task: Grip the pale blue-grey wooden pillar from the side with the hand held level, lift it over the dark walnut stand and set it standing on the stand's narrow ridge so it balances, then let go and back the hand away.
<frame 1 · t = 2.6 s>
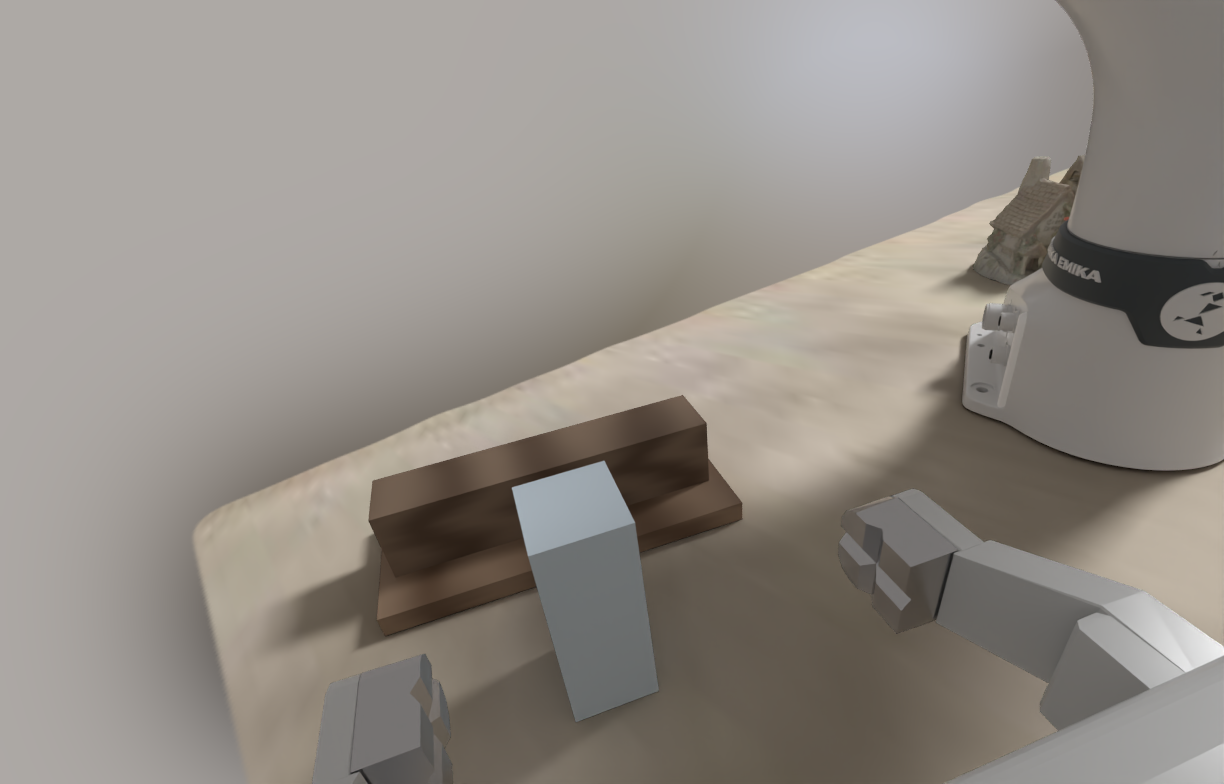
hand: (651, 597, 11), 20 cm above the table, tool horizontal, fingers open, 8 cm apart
pillar: (605, 668, 31), on the table
stand: (558, 523, 41), on the table
ceramic cottage: (1062, 277, 65), on the table
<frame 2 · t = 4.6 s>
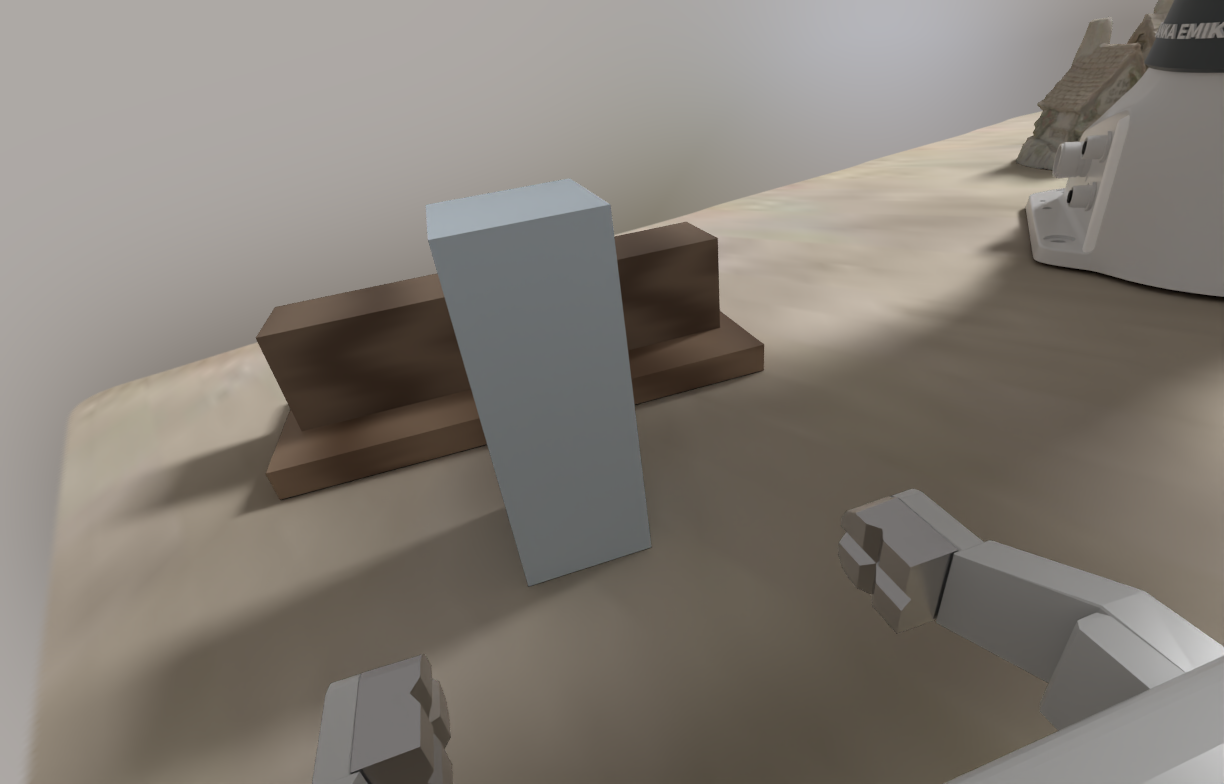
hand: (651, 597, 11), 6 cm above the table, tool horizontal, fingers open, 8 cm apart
pillar: (576, 524, 22), on the table
stand: (525, 383, 32), on the table
ceramic cottage: (1124, 164, 56), on the table
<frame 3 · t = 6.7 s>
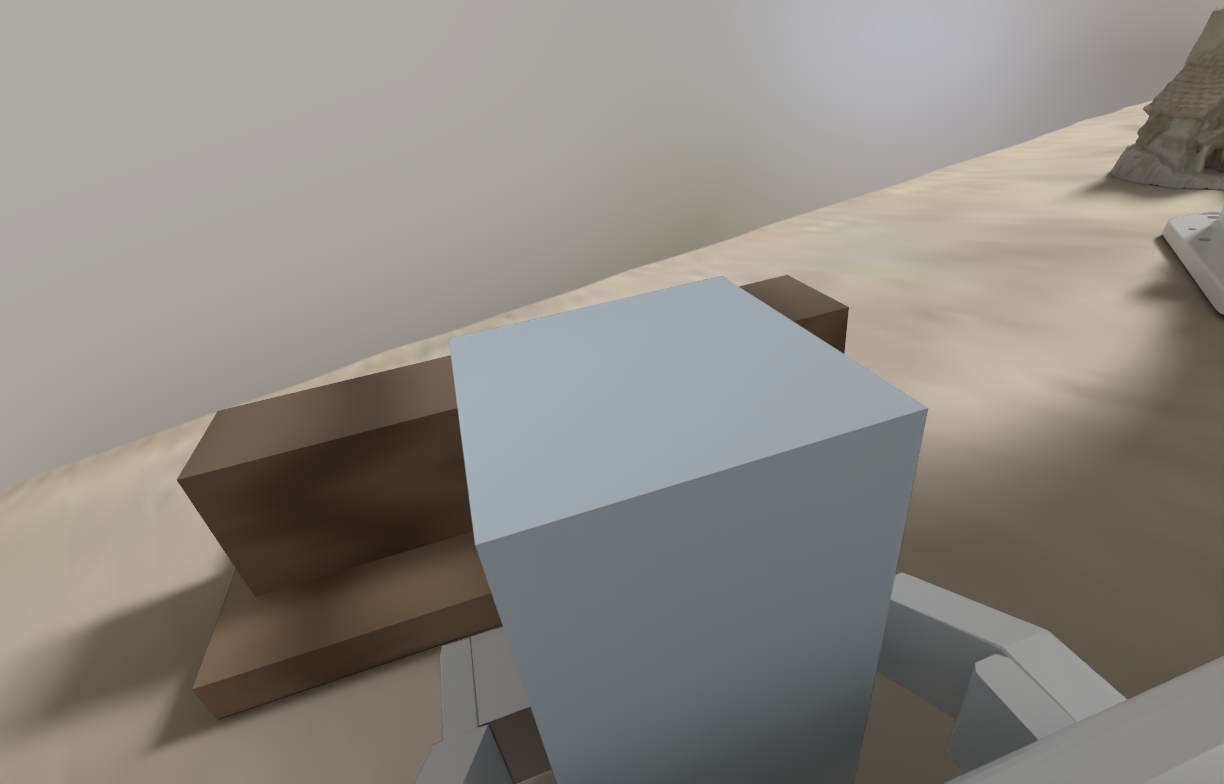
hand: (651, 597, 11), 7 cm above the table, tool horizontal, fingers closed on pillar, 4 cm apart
stand: (569, 497, 23), on the table
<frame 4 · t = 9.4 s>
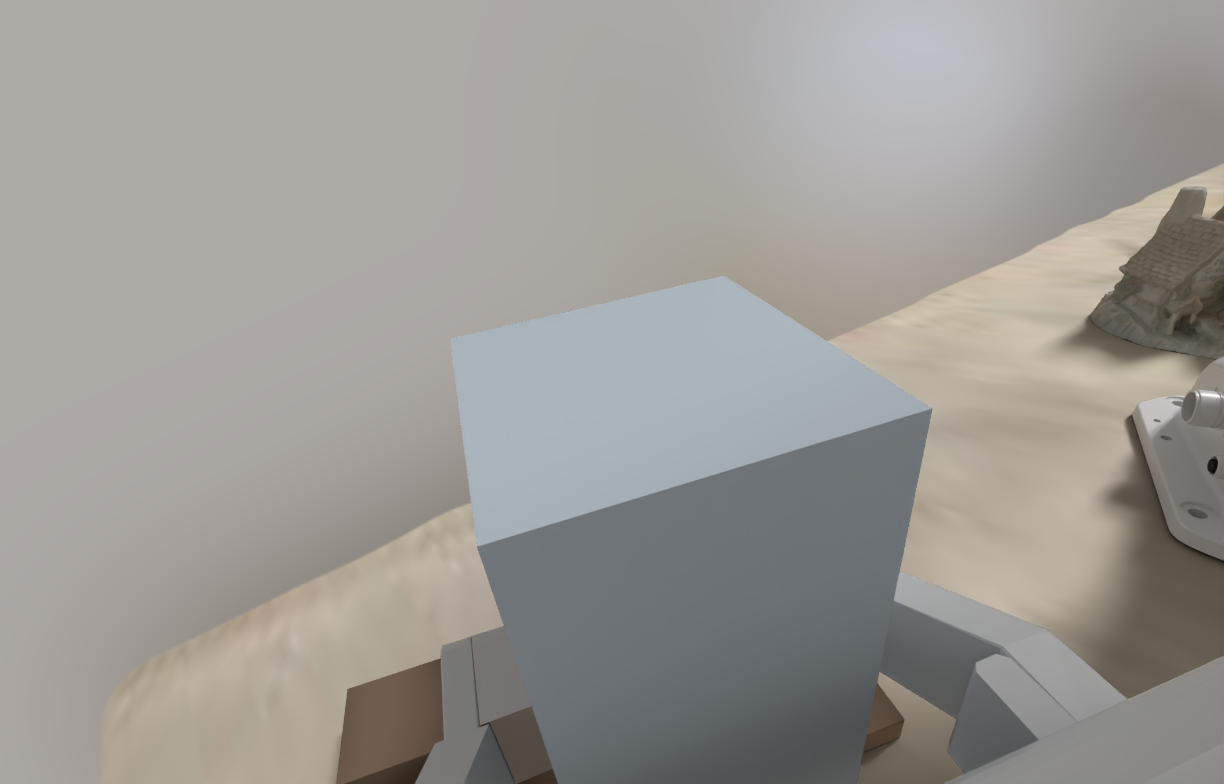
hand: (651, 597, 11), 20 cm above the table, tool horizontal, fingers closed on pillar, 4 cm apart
stand: (620, 725, 28), on the table
ceramic cottage: (1214, 337, 52), on the table
when the fingers open (14 cm above the table, at t = 11.8 s): pillar drops 1 cm, resting on stand.
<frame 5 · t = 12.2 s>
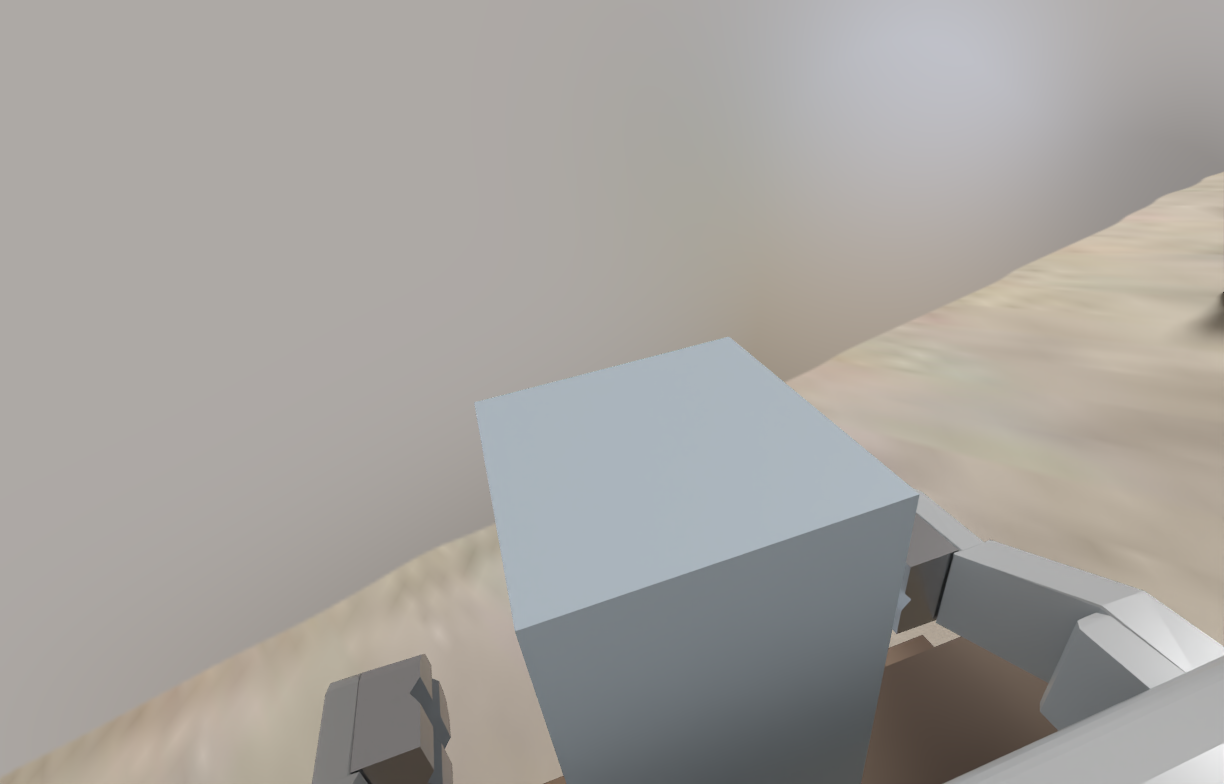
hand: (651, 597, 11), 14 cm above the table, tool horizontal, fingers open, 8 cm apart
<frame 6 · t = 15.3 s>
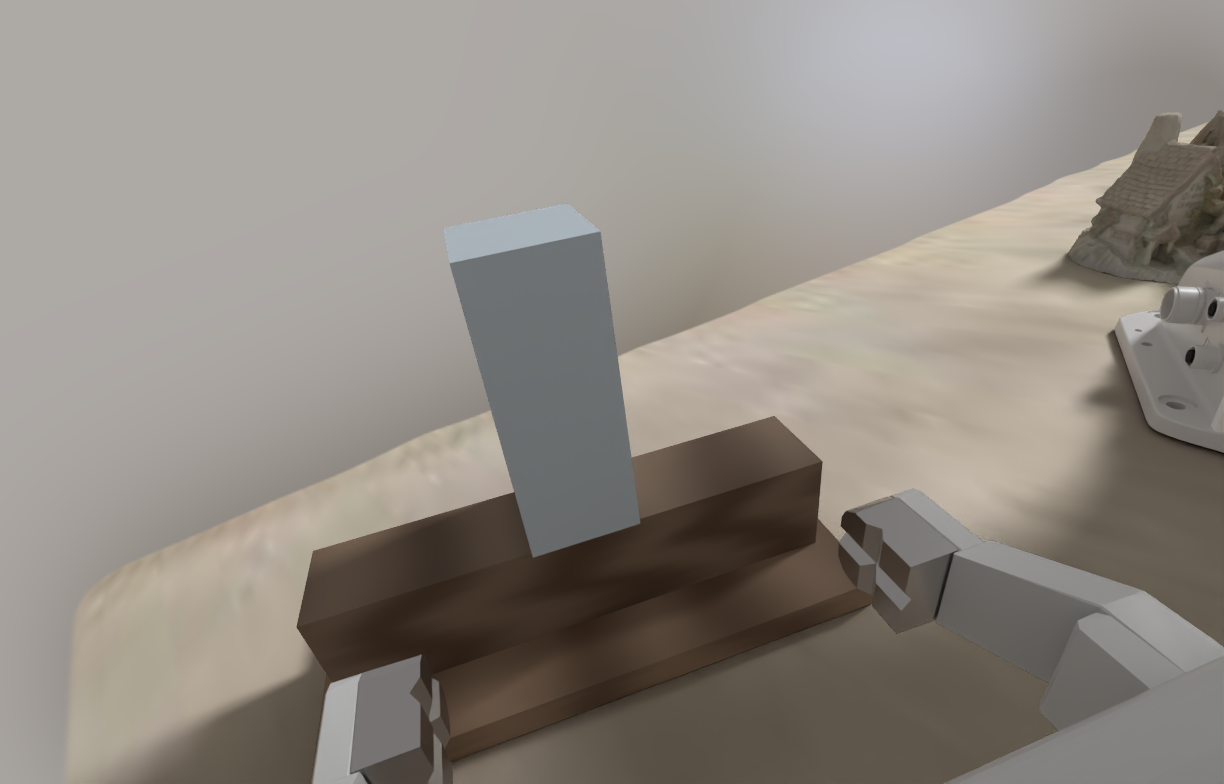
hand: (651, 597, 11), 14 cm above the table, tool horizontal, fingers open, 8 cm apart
pillar: (574, 504, 25), point 6 cm above the table, touching stand
stand: (593, 603, 28), on the table
ceramic cottage: (1192, 267, 51), on the table
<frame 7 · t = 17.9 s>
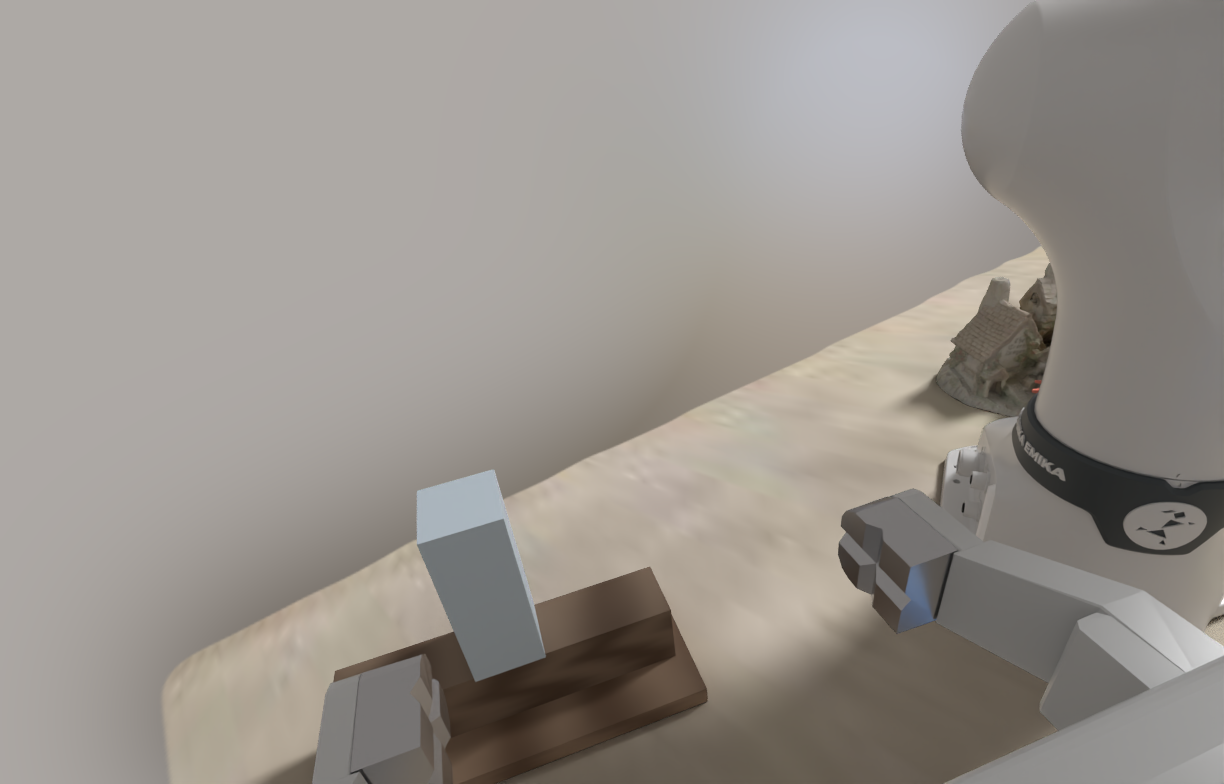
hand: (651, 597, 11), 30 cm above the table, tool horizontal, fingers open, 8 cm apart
pillar: (506, 639, 37), point 6 cm above the table, touching stand
stand: (524, 696, 41), on the table
ceramic cottage: (1025, 396, 64), on the table
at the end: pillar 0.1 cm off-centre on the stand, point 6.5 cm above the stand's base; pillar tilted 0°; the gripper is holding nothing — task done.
